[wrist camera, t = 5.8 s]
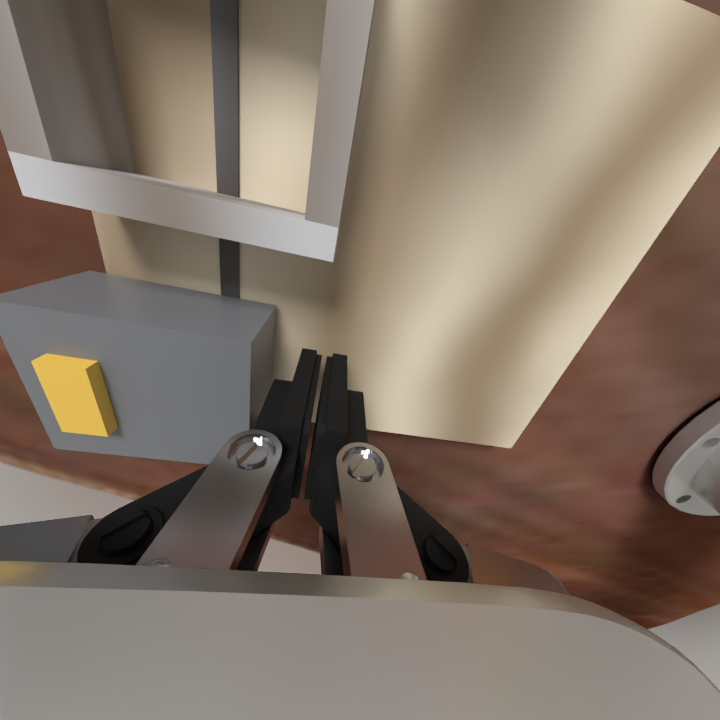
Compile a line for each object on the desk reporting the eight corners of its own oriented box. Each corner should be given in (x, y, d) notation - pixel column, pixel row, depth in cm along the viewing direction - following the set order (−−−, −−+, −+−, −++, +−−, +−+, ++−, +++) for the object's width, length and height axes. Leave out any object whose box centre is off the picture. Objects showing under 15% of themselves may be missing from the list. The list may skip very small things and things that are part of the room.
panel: (719, 70, 8) (984, -24, 5) (497, 427, 16) (540, 492, 12) (53, -193, 6) (-383, -777, 2) (157, 379, 13) (89, 443, 10)
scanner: (276, 305, 10) (245, 349, 7) (269, 411, 12) (244, 478, 9) (89, 270, 9) (-39, 304, 6) (122, 392, 11) (42, 458, 8)
